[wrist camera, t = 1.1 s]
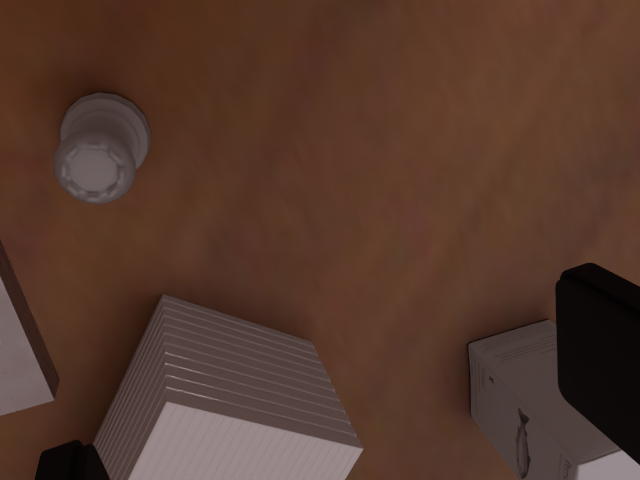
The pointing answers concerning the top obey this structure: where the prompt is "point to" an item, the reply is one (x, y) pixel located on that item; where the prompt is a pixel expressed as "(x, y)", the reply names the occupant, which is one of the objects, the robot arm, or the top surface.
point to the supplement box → (537, 411)
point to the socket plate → (21, 350)
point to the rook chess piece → (101, 148)
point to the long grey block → (224, 405)
